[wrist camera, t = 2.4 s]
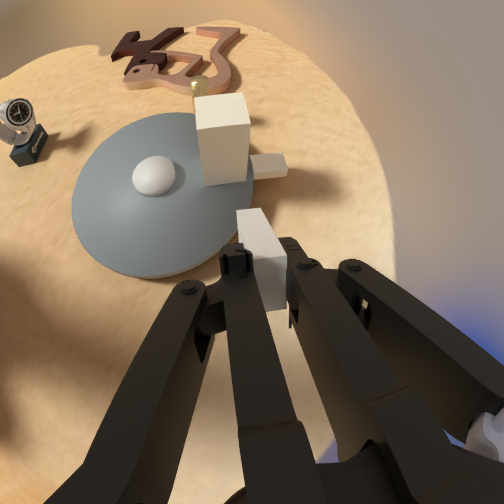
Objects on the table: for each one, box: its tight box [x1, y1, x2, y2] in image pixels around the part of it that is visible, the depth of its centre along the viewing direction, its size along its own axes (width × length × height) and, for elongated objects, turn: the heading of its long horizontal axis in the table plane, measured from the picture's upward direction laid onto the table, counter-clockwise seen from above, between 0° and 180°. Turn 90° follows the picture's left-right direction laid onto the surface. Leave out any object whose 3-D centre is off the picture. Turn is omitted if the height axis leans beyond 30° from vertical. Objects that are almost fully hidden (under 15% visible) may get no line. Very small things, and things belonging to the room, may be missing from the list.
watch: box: [0, 98, 48, 167], centre depth 25 cm, size 6×8×11 cm
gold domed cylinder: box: [190, 75, 209, 114], centre depth 29 cm, size 2×2×7 cm
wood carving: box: [111, 27, 240, 96], centre depth 37 cm, size 28×2×24 cm
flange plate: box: [72, 92, 288, 279], centre depth 23 cm, size 24×20×9 cm
